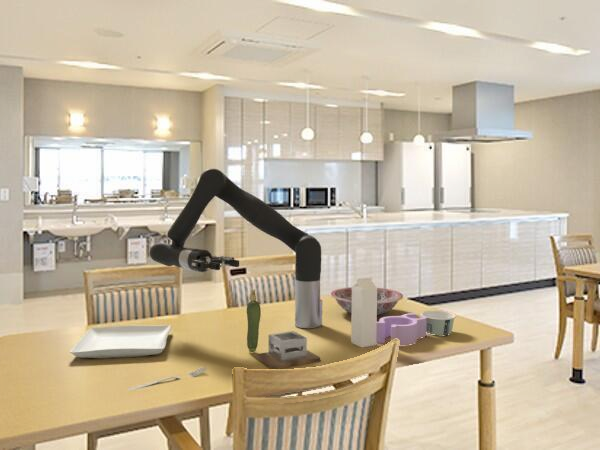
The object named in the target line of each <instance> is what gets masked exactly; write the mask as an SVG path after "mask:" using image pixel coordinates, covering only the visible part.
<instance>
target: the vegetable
mask: <svg viewBox="0 0 600 450" xmlns="http://www.w3.org/2000/svg"><path fill="white" fill-rule="evenodd" d="M248 298H249V300H250V301H249V302H248V303H247V306H246V317H247V319H246V320H247V332H246V333H247V334H246V335H247V336H246V346H247V348H248V352H249V353H250V354H251V353H255V352H257V348H258V342H259V333H260V332H259V331H260V322H261V317H262V316H261V315H262V314H261V312H262V311H261V309H262V308H261V305H260V303H259V302H258V300H257V295H256V289H253V290H251V292H250V294H249V297H248Z"/></svg>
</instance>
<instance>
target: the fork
mask: <svg viewBox="0 0 600 450" xmlns="http://www.w3.org/2000/svg"><path fill="white" fill-rule="evenodd" d="M205 371H207V367H204V366H202V367H200V368H197V369H196V370H193V371H191V372H190V373H187V374H186V375H188V377H189V378H191V379H192V378H195V377H197V376H198V375H200V374H202V373H205ZM169 379H179V380H183V377H181V376H168V377H166V378H165V377H164V378H162V379H160V380H159V379H158V380H156V381H153V382H148V383H145V384H141V385H137V386H133V387H130V388H129V387H128V389H126V390H127V391H133V390H139V389H142V388H146V387H149V386H153V385H155V384H158V383H162V382H163V381H166V380H169Z"/></svg>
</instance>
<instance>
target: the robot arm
mask: <svg viewBox="0 0 600 450" xmlns="http://www.w3.org/2000/svg"><path fill="white" fill-rule="evenodd" d="M215 197H216V198H218V199H219V200H221V201H223V202H225V203H226V204H228V205H229V206H230V207H231V208H233V209H234V211H236V212H237V214H238V215H240V216H241V217H242V218H243V219H244V220H245V221H247V222H248V223H249V224H251V225H252V226H253V227H256V229H258V230H259V231H260V232H261V231H262V232H263V233H265V234H267V235H269V236H270V237H272V238H275V239H277V240H279V241H280V242H282V243H283V244H284V245H286V246H287V247H288V248H289V249H290V250H292V251H293V252H294V253H295V273H294V275H295V276H294V278H295V279H294V283H295V284H294V286H295V287H294V288H295V291H294V298H295V299H294V325H295V327H297V328H300V329H301V328H302V329H314V328H319V327H320V326H323V300H322V299H321V273H322V246H321V244H320V242H319V241H318V239H317V238H316V237H314V236H312V235H311V234H308V233H307V232H305V231H303V230H301V229H299V228H297V227H296V226H294V224H292V223H290V221H288V220H287V219H286V217H284V216H283V215H281V213H280V212H278V211H277V210H276V209H274V208H273V207H272V206H271V205H269V204H268V203H267V202H265V201H263V200H262V199H260V198H258V197H256V196H255V195H254V194H252V193H249V192H248V191H246V190H243V189H242V188H241V187H239V186H238V184H236V183H234V182H233V181H232V180H231V179H230V178H229V177H228V176H226V175H225V173H224V172H222V171H221V170H220V169H218V168H214V167H213V168H212V167H211V168H208V169H206V170H203V171H202V173H201V174H200V177H199V180H198V182H197V184H196V186H195V189H194V191H193V193H192V195H191V196H190V198H189V199H188V201H187V203H186V204H185V206H184V207H183V209H182V210H181V212H180V213H179V215H178V216H177V217H176V219H175V221H174V222H173V223H172V225H171V226H170V227H169V229H168V231H167V234H166V235H167V237H168V238H169V240H171V244H170V243H166V242H157V243H155V244H153V245H152V246H151V247H150V250H149V256H150V258H151V260H152V261H153V262H156V263H159V264H161V265H163V266H166V267H172V266H174V267H177V268H182V269H186V270H189V271H194V272H199V273H205V272H208V271H209V270H213V271H220V270H221V268H224V267H234V268H239V267H240V260H237V259H235V257H232V256H231V257H230V256H224V255H220V256H217V255H212V253H211V252H210V251H209V250H207V249H200V248H195V247H184V246H185V244H186V241H187V239H188V238H189V237H190V234H192V232H193V230H194V229H195V227H196V225H197V224H198V221H199V219H200V217H201V216H202V214H203V212H204V211H205V209H206V207H207V206H208V205H209V204H210V202H211V201H212V200H213V199H214V198H215Z"/></svg>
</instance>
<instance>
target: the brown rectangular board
mask: <svg viewBox="0 0 600 450" xmlns="http://www.w3.org/2000/svg"><path fill="white" fill-rule="evenodd" d="M300 347H301V346H300ZM286 353H287V352H286ZM254 358H255V360H257V361H259V362H260V363H261V364H263V365H264V366H266V367H267V368H268V369H270V370H271V369H276V370H280V369H279V368H281V369H285V368H286V369H287V368H289V367H296V366H300V365H305V364H310V363H315V362H316V363H317V362H321V359H322V358H321V357H320V356H318V355H317V354H315V353H314V352H311V351H310V350H308V349H307V358H303V359H298V360H292V361H287V362H282V363H281V362H280V361H278V360H277V359H275V358H274V357H272V356H271V355H269V351H266V352H261V353H255V354H254Z"/></svg>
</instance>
